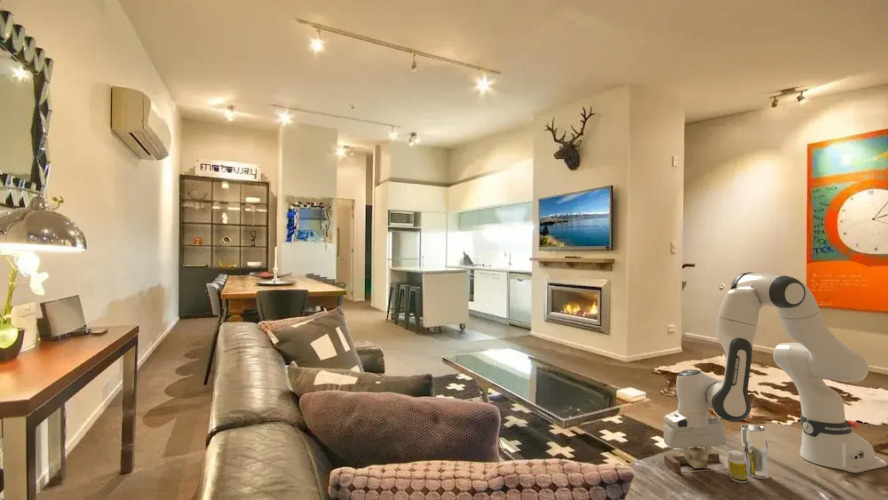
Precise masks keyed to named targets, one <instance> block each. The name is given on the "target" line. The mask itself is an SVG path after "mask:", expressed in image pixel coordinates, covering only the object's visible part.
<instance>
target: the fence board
mask: <svg viewBox="0 0 888 500" xmlns="http://www.w3.org/2000/svg"><path fill="white" fill-rule="evenodd" d="M708 457H709V458H708V459H707V463H708V462H720V454H719V452H717V450H710V452H709V454H708ZM663 460H664V465H665V466H666V467H668V468H669V469H670V470H671V471H672V472H674V473H681V472H682V470H681V469H682V468H681V464H688V463H687V462H686V459H685V458H684V453H683V452H682V453H670V454H669V453H668V454H664V455H663ZM723 469H724V468H718V469H714V471H721V470H722V471H723ZM706 471H707V472H708V471H712V469H704V470H703V469H702V470H700V472H706ZM697 472H698V470H692V471H691V470H690V471H687V473H697Z"/></svg>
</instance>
